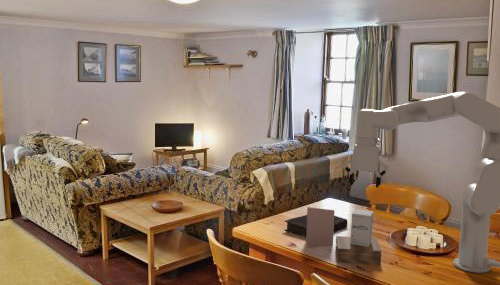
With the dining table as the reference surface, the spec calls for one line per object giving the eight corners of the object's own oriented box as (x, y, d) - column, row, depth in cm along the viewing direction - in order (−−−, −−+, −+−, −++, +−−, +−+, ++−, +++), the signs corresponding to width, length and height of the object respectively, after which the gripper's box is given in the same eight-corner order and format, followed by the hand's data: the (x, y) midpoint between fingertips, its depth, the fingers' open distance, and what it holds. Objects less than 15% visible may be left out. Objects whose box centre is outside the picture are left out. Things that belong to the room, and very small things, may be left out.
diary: (347, 229, 222) (348, 218, 221) (315, 242, 204) (316, 230, 203) (315, 219, 235) (315, 209, 234) (282, 230, 217) (282, 220, 216)
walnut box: (375, 252, 193) (376, 238, 192) (380, 266, 179) (381, 251, 178) (334, 249, 195) (335, 235, 194) (336, 263, 181) (337, 248, 180)
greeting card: (333, 244, 200) (334, 209, 197) (330, 250, 193) (331, 214, 191) (306, 240, 203) (307, 206, 201) (302, 246, 197) (303, 211, 194)
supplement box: (349, 244, 184) (351, 213, 182) (353, 238, 191) (355, 208, 189) (369, 247, 181) (370, 215, 179) (372, 241, 188) (373, 210, 186)
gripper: (391, 142, 181) (389, 186, 183) (346, 138, 188) (344, 181, 190) (388, 144, 174) (386, 190, 176) (341, 141, 181) (340, 185, 184)
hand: (364, 185), depth 183 cm, fingers open, 9 cm apart
